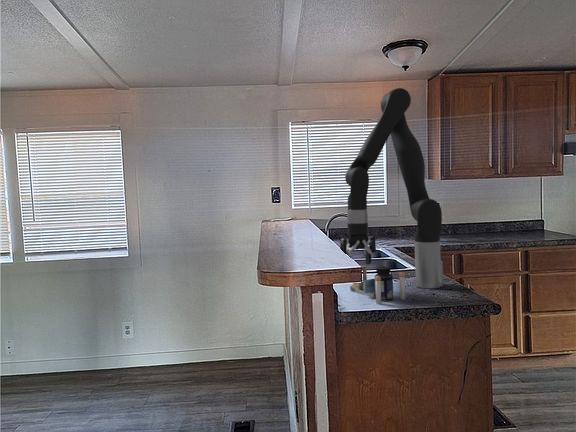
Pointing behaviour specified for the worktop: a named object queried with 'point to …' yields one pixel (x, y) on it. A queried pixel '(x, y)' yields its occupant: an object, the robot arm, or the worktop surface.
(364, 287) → the kicker
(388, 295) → the pill bottle
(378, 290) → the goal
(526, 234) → the worktop surface
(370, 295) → the rail
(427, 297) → the worktop surface
